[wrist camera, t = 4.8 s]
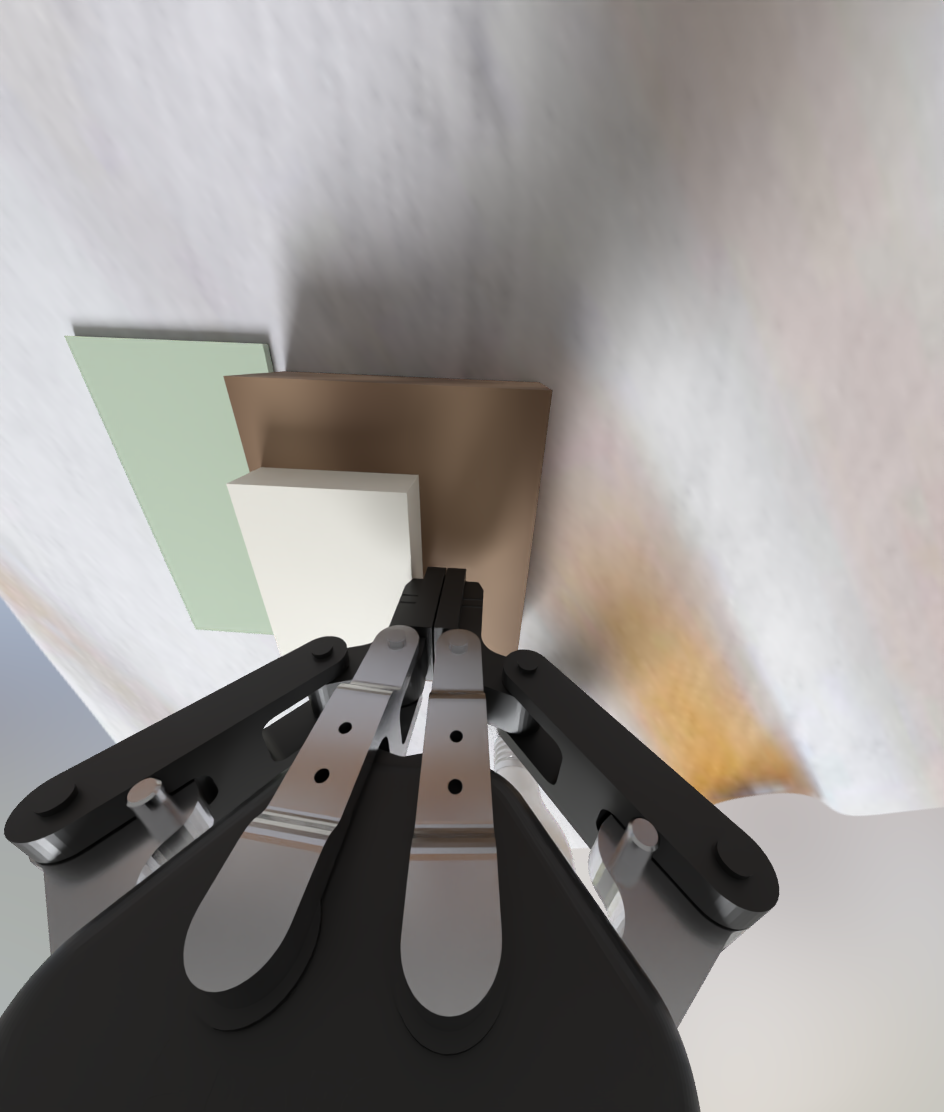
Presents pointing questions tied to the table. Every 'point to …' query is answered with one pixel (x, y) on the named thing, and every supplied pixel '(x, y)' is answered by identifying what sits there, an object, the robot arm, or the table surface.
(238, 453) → the mat
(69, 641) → the table surface
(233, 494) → the white flat block
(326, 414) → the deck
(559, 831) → the lightbulb
